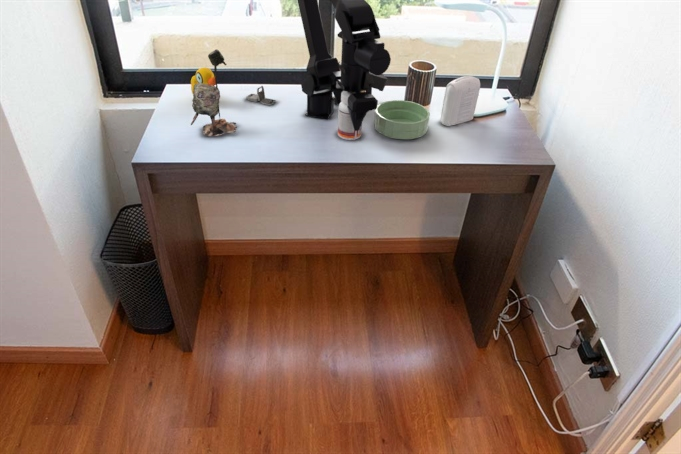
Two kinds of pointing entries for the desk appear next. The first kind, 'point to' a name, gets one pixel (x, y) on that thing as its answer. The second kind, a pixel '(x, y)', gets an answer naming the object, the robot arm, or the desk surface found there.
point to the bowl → (401, 119)
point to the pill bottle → (346, 120)
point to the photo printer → (460, 100)
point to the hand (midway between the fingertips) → (350, 122)
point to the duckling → (203, 77)
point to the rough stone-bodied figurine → (211, 102)
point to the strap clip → (260, 97)
